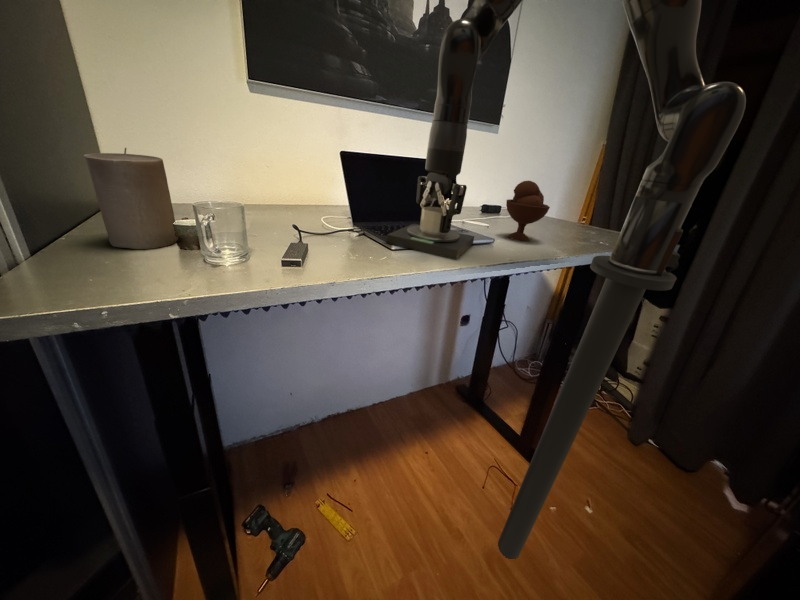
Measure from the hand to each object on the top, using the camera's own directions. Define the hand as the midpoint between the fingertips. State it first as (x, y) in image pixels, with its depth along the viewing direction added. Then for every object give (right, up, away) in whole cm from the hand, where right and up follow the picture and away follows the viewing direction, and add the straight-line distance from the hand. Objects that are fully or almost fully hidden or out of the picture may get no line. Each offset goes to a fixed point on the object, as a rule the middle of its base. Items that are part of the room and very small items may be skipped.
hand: (433, 228), depth 74 cm
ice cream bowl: (+25, +1, +16) cm, 30 cm away
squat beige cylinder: (0, -1, 0) cm, 1 cm away
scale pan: (0, -1, +1) cm, 1 cm away
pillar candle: (-52, -6, -17) cm, 55 cm away
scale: (0, -3, +2) cm, 4 cm away
